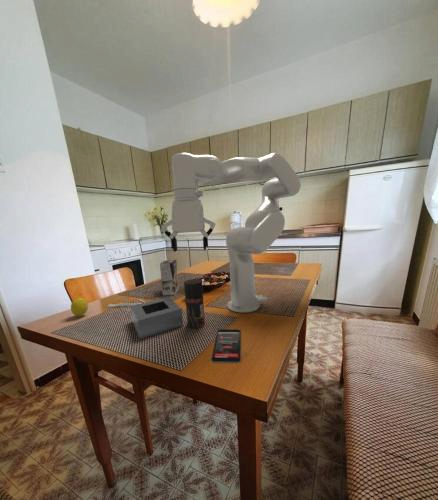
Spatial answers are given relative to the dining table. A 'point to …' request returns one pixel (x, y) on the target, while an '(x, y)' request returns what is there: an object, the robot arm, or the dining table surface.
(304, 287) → the dining table surface
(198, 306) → the deodorant
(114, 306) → the crossbow
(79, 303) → the lemon
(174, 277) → the coffee box
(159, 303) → the socket block
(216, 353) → the smartphone
